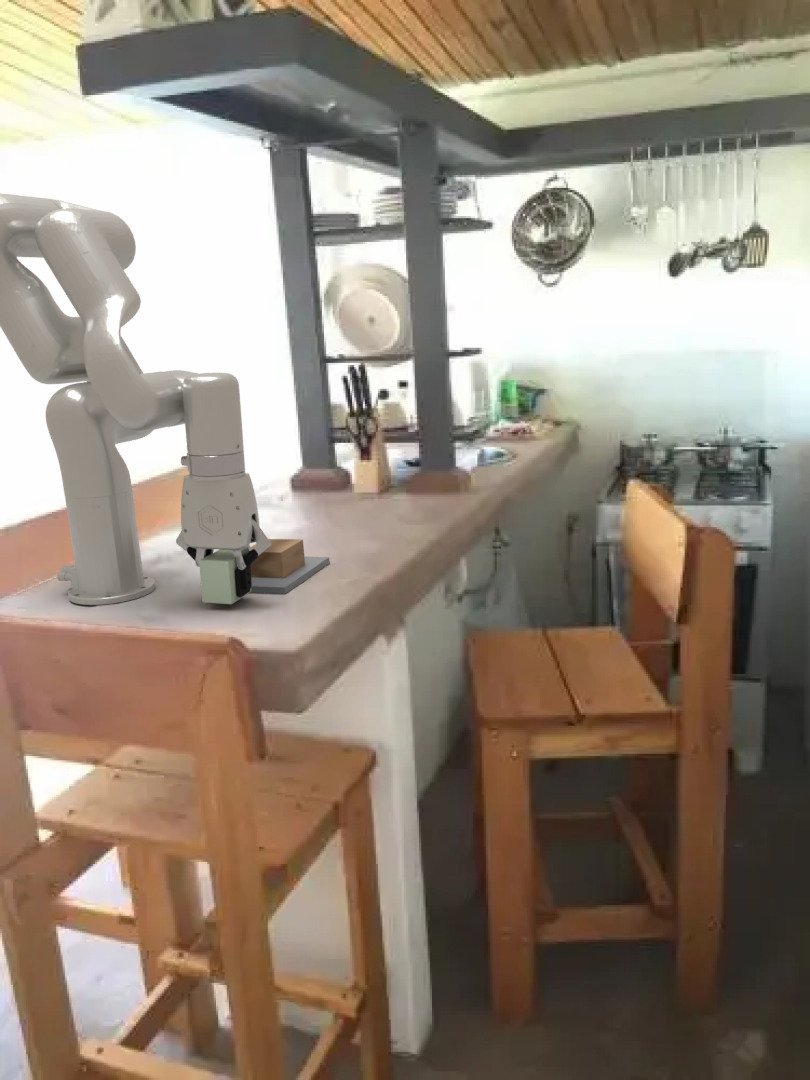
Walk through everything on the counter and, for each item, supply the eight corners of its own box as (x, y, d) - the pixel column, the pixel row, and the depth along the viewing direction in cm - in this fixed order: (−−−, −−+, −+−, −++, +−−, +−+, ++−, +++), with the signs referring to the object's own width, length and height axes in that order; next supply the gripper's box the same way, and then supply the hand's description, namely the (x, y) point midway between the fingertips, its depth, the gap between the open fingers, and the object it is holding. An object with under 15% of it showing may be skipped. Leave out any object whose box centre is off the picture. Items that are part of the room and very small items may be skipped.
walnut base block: (244, 577, 142) (242, 551, 141) (267, 563, 150) (265, 538, 149) (283, 578, 140) (281, 552, 139) (305, 564, 148) (302, 539, 147)
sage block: (202, 602, 130) (198, 560, 129) (223, 589, 136) (220, 549, 134) (231, 604, 129) (228, 562, 127) (251, 591, 134) (248, 550, 133)
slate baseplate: (217, 591, 139) (216, 585, 139) (267, 561, 155) (267, 555, 154) (285, 594, 136) (284, 587, 135) (329, 563, 151) (329, 557, 151)
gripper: (147, 468, 127) (160, 597, 131) (260, 471, 122) (269, 605, 126) (176, 459, 134) (187, 581, 138) (285, 462, 129) (292, 589, 133)
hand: (226, 591), depth 132 cm, fingers closed on sage block, 4 cm apart
